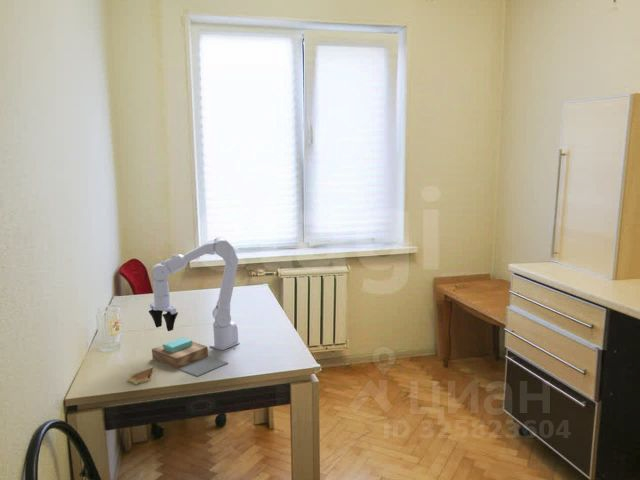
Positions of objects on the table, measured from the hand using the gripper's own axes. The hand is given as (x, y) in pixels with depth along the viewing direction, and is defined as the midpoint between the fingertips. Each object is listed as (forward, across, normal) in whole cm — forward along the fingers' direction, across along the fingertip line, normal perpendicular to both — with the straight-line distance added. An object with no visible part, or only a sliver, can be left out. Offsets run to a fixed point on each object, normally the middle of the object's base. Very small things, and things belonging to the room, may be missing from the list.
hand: (164, 328), depth 195 cm
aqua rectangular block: (+6, +7, +1) cm, 10 cm away
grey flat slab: (+10, +22, 0) cm, 24 cm away
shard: (+11, +11, -18) cm, 24 cm away
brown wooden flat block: (+10, +8, +1) cm, 13 cm away
